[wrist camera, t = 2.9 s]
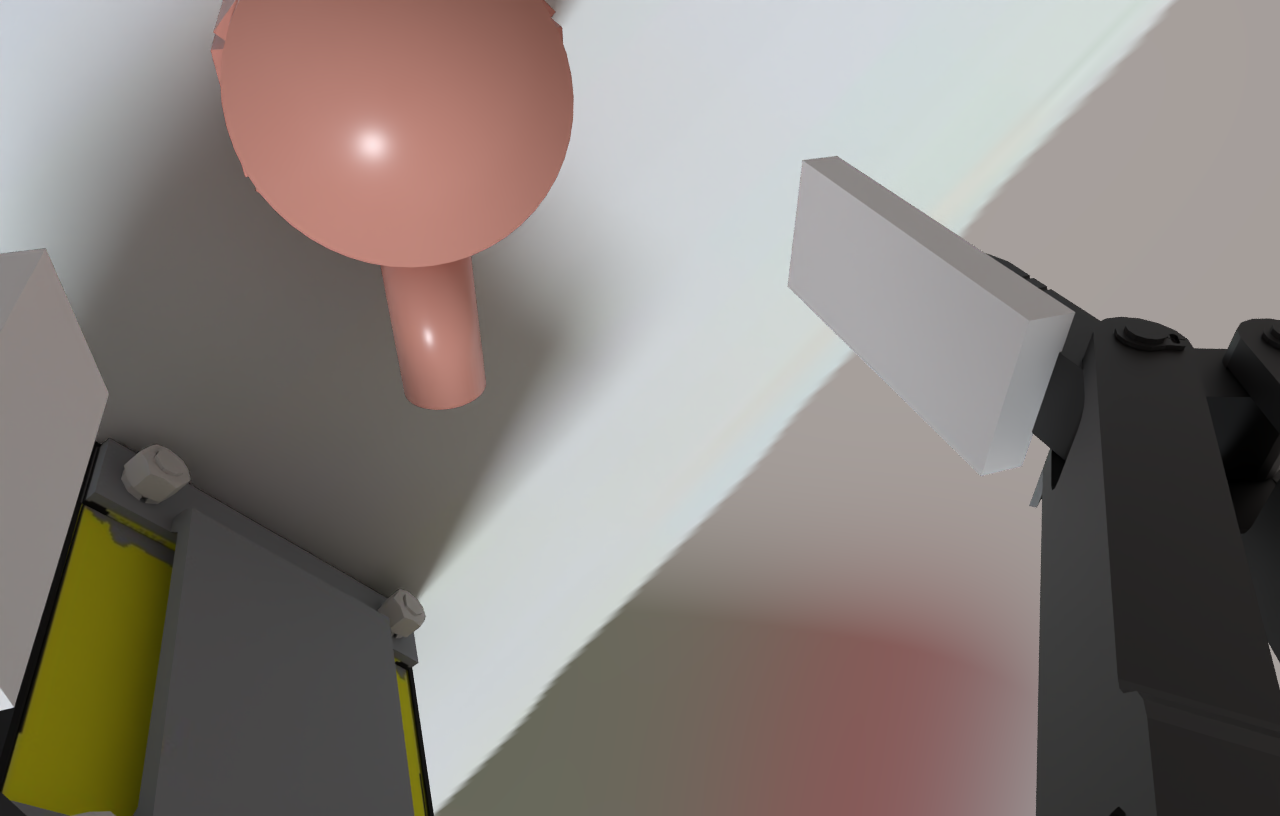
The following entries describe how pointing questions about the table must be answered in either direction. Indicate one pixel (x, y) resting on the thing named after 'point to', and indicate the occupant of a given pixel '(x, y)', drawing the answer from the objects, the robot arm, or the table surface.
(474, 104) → the cap
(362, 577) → the table surface
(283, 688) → the electrical component
